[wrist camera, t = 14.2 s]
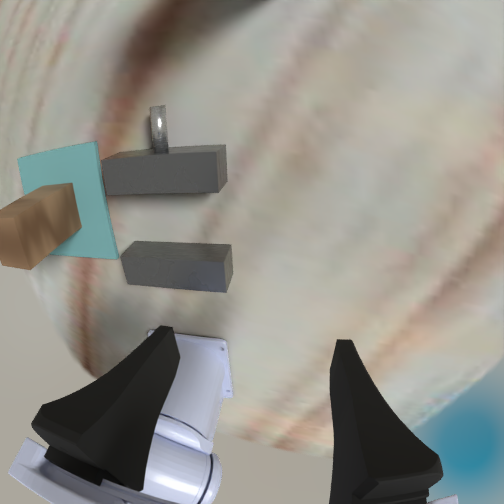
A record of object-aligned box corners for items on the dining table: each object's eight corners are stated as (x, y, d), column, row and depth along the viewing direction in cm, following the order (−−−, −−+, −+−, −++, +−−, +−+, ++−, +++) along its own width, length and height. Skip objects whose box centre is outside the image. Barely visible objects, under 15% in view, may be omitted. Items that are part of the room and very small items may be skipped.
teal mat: (119, 256, 24) (116, 259, 24) (43, 251, 26) (41, 253, 25) (97, 141, 20) (94, 142, 19) (20, 157, 21) (17, 159, 21)
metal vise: (233, 273, 24) (226, 292, 21) (140, 267, 25) (127, 284, 22) (223, 99, 17) (213, 100, 15) (115, 112, 18) (95, 117, 16)
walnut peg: (82, 227, 23) (30, 270, 17) (51, 226, 24) (2, 265, 17) (72, 182, 21) (13, 217, 15) (42, 185, 22) (-14, 218, 16)
